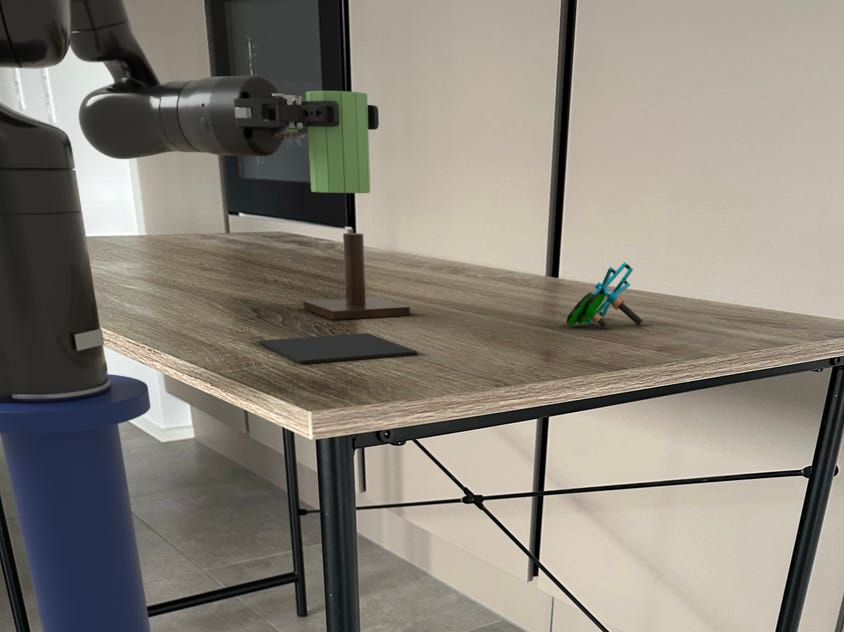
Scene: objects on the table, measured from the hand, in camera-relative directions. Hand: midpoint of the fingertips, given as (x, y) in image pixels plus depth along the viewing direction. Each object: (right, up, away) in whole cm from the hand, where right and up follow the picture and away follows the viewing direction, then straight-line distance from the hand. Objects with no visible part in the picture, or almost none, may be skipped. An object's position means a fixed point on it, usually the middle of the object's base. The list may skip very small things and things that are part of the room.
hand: (356, 115), depth 94 cm
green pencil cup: (-2, -6, +4) cm, 7 cm away
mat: (-2, -24, 0) cm, 24 cm away
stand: (-3, -12, +23) cm, 26 cm away
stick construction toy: (+27, -15, +17) cm, 36 cm away
